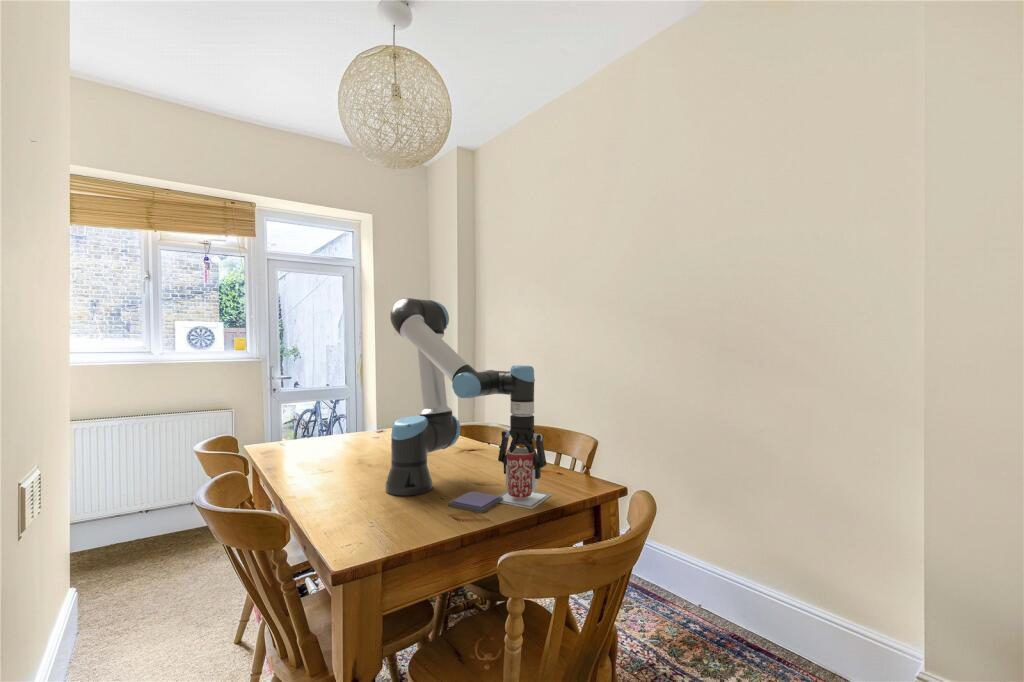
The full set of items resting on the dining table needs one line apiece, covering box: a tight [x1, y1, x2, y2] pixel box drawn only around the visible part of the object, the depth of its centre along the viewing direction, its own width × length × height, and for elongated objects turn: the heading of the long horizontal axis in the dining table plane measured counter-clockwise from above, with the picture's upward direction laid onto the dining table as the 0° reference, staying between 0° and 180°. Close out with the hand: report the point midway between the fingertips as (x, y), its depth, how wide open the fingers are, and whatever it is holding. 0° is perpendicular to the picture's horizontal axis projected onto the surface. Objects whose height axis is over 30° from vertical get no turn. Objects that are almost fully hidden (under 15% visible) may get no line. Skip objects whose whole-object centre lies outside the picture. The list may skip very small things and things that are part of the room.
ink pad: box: [447, 491, 503, 514], centre depth 140 cm, size 12×12×1 cm
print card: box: [498, 490, 552, 510], centre depth 145 cm, size 14×14×1 cm
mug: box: [506, 447, 536, 498], centre depth 145 cm, size 13×9×14 cm
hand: (521, 486), depth 145 cm, fingers closed on mug, 8 cm apart
